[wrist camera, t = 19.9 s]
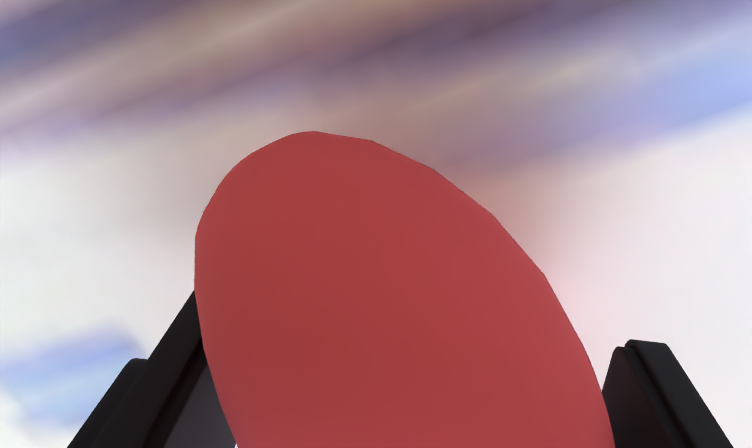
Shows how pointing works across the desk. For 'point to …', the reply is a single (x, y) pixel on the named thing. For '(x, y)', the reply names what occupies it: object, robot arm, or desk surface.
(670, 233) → the desk surface
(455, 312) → the red kidney bean
